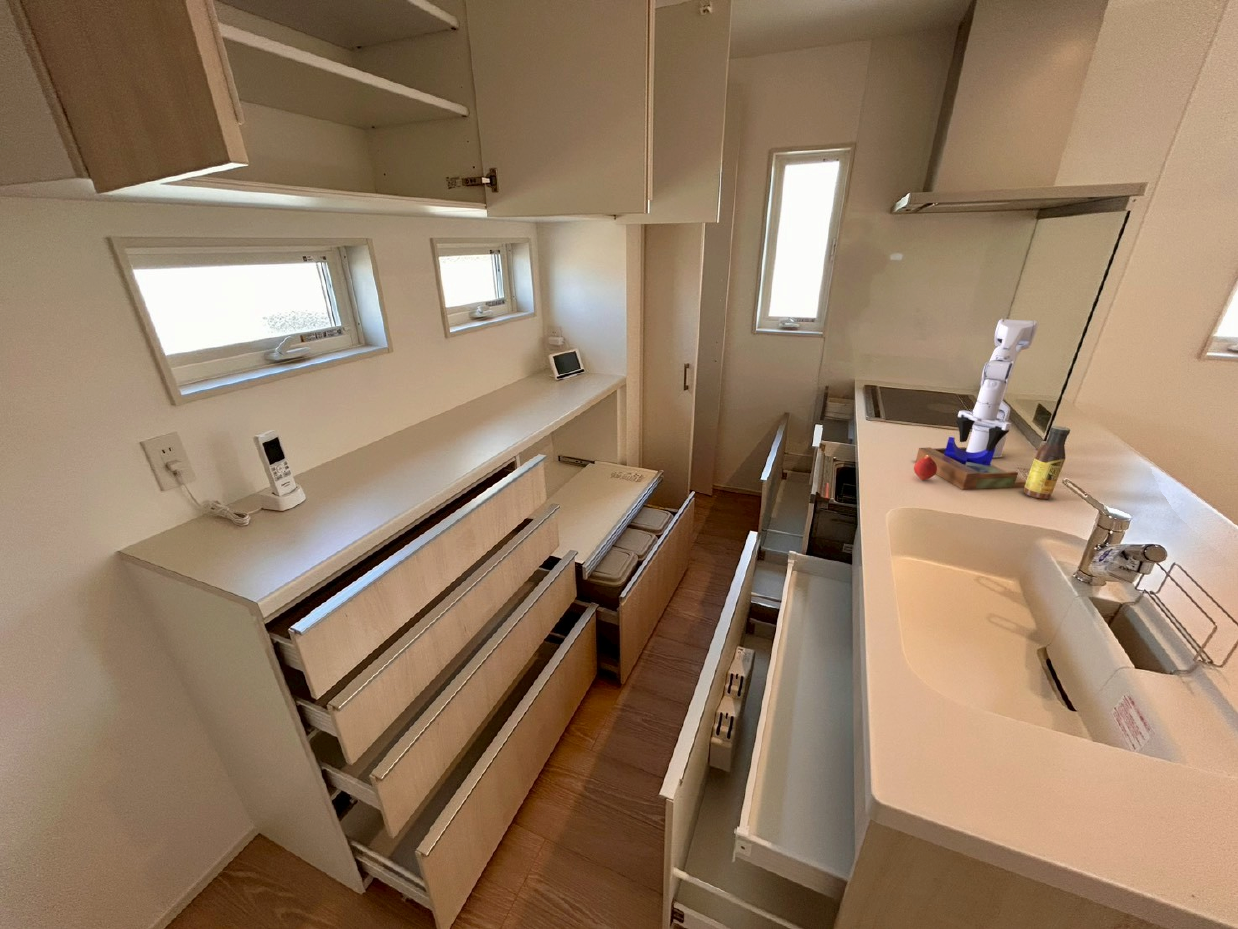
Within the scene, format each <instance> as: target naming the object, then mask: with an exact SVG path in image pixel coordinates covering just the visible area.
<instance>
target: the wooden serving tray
mask: <svg viewBox="0 0 1238 929" xmlns="http://www.w3.org/2000/svg"><path fill="white" fill-rule="evenodd" d="M957 447H958V448H960V449H961V450H963V451H966V449H967V447H965V446H962V447H959V446H957ZM945 450H946V447H937V448H936V447H935V448H933V447H918V450H917V454H916V458H915V463H916V462H917V461H918V460H920V459H922V458H925V457H926V455H929V456H930V458H931V459H932V460H933V461H934V462H935V463H936V466H937V472H936V474H935V475H937V476H939V477H940V478H942V479H944V480H945V481H947V482H949V483H951V484H952V485H954V486H955V487H957V488H959V489H961V490H981V489H1000V488H1001V489H1003V488H1020V487H1022V488H1023V487H1024V488H1025V483H1026V480H1025V479H1022V478H1020V477H1018V475H1019V472H1018V471H1016V470H1015V471H1007V470H1004V469H1003V468H1000V467H998V466H996V465H994V464H990V466H987V465H981V464H976V463H971V462H966V464H961V463H959V462H957V461H956V460H954V459H952V458H950V457H948V456H946V455H944V454H945Z"/></svg>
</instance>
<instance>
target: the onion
mask: <svg viewBox="0 0 1238 929" xmlns="http://www.w3.org/2000/svg"><path fill="white" fill-rule="evenodd" d="M913 471H914V474H915V475H916V476H917V477H918V478H919V480H921V481H925V480H929V479H931V478H934V476H935V475H937V474H936V472H937V466H936V463H935V462H934V461H933V460H932V459H931V458H930V456H929V455H926V457H925V458H922V459H920V460H918V461H917V462H916V461H915V463H914V466H913Z"/></svg>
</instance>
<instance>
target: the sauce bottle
mask: <svg viewBox="0 0 1238 929" xmlns="http://www.w3.org/2000/svg"><path fill="white" fill-rule="evenodd" d="M1070 433H1071V429H1070V428H1069V427H1065V426H1061V425H1052V426H1050V429H1049V434H1048V437H1047V438H1046V442H1045V443H1043V444H1041V446H1039V447H1038V449H1037V451H1036V454H1035V456H1034V459H1033V461H1032V464H1031V466H1030V469H1029V472H1028V475H1027V478H1026V480H1025V481H1026V483H1025V486H1024V488H1023V494H1025V495H1026V496H1029V497H1032V498H1033V499H1040V500H1041V499H1042V500H1046V499H1047V500H1048V499H1049V498H1050V497H1051V496H1052V494H1053V492H1054V490H1055V487H1056V485H1057V482H1058V479H1059V477H1060V474H1061V473H1062V472H1061V471H1062V469H1063V466H1064V464H1065V461H1066V447H1065V446H1066V441H1067V438H1068V436H1069V435H1070Z"/></svg>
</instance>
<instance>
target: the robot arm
mask: <svg viewBox="0 0 1238 929" xmlns="http://www.w3.org/2000/svg"><path fill="white" fill-rule="evenodd" d="M1038 326H1039V321H1038V320H1028V319H1027V320H1024V319H1009V318H1008V319H1007V318H1001V319H999V320H998V322H997V325H996V328H995V332H994V341H993V343H994V346H995V348H994V350H993V351H992V354H991V356H990V359H989V361H986V362H985V364H984V366H983V370H982V373H981V380H980V385H979V386H980V388H979V392H978V395H977V399H976V402H975V405H974V408H973V410H972V411H969V410H965V409H962V410H959V412H958V413H957V417H958V418H956V419H955V423H956V425H957V428H958V434H959V443H966V442H967V441H968V444H967V447H966V448H967V449H966V452H971V453H975V452H981V451H983V450H985V449H986V451H993V450H994V448H995V446H996V448H995V452H994V455H993V458H992V459H994V458H1003V455H1002V453H1003V451H1004V447H1005V443H1006V440H1007V435H1008V434H1009V432H1010V430H1011V427H1012V423H1011V422H1009V418H1010V413H1011V406H1009V405H1008V404H1007V403H1006V402H1005V401H1004V399H1005V396H1006V392H1007V389H1008V387H1009V383H1010V380H1011V378H1012V374H1013V372H1014V368H1015V364H1016V362H1017V358H1018V356H1019V355H1020V353H1021V352H1022V351H1023V350H1027V349H1030V346H1032V344H1033V341H1034V338H1035V336H1036V332H1037V330H1038ZM970 432H971V433H970ZM969 435H970V437H969ZM968 438H969V440H968Z"/></svg>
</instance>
